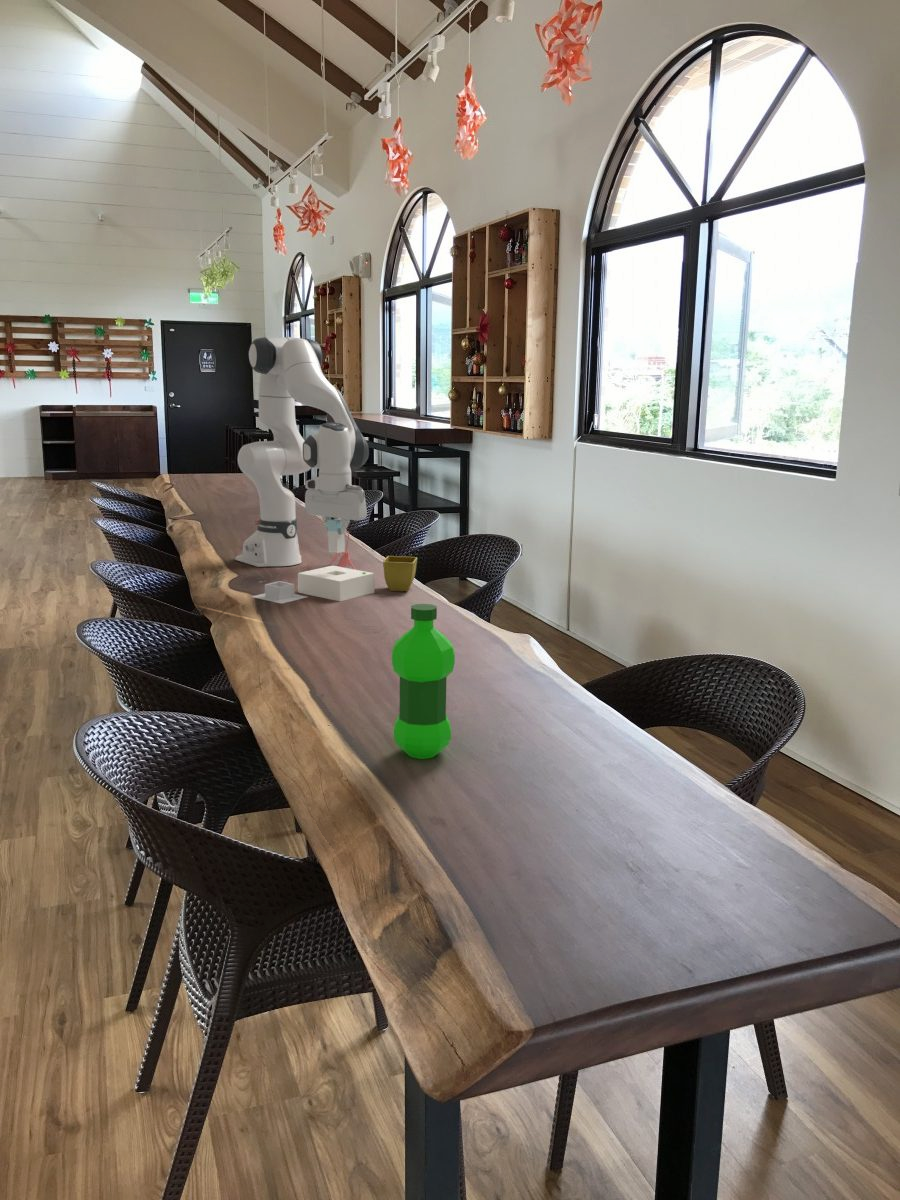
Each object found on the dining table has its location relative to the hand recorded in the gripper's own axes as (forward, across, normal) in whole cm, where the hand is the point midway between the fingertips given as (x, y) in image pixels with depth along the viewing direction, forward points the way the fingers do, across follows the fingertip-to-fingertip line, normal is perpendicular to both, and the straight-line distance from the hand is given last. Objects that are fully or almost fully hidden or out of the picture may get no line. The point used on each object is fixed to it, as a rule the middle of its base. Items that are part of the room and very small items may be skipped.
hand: (336, 533), depth 264 cm
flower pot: (+18, -10, -16) cm, 26 cm away
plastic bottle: (+19, -88, +74) cm, 117 cm away
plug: (+5, 0, 0) cm, 5 cm away
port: (+17, 0, 0) cm, 17 cm away
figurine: (+17, +26, -25) cm, 39 cm away
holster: (+17, +8, +14) cm, 24 cm away
